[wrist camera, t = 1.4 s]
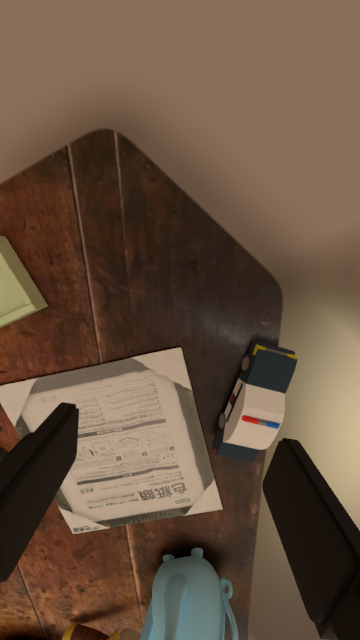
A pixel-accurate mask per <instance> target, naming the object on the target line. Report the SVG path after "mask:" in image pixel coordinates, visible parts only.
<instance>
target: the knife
mask: <svg viewBox="0 0 360 640" xmlns="http://www.w3.org/2000/svg"><path fill="white" fill-rule="evenodd" d="M62 640H120V637H119V633H118V631H115V632H114V634H113V635H112V637H111V638H110V637H109V636H107V635H105V634H104V633H102V632H100V631H98V630H96V629H93V628H90V627H87V626H83V625H80V624H75V625H73V626H71V627H69V628H68V629H67V630H66V631H65V632H64V634H63V637H62Z"/></svg>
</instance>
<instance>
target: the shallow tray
mask: <svg viewBox="0 0 360 640" xmlns="http://www.w3.org/2000/svg"><path fill="white" fill-rule="evenodd" d="M47 306H48V305H47V303H46V302H45V300H44V298H43V297H42V295H41V293H40V292H39V290H38V289H37V287H36V285H35V284H34V282H33V280H32V279H31V277H30V275H29V274H28V272H27V271H26V269H25V267H24V266H23V264H22V262H21V261H20V259H19V258H18V256H17V254H16V253H15V251H14V249H13V248H12V246H11V245H10V243H9V241H8V240H7V238H6V237H4V236H0V328H2V327H4V326H6V325H8V324H10V323H12V322H15V321H17V320H19V319H21V318H23V317H26V316H28V315H30V314H32V313H34V312H36V311H39V310H41V309H43V308H45V307H47Z"/></svg>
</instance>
